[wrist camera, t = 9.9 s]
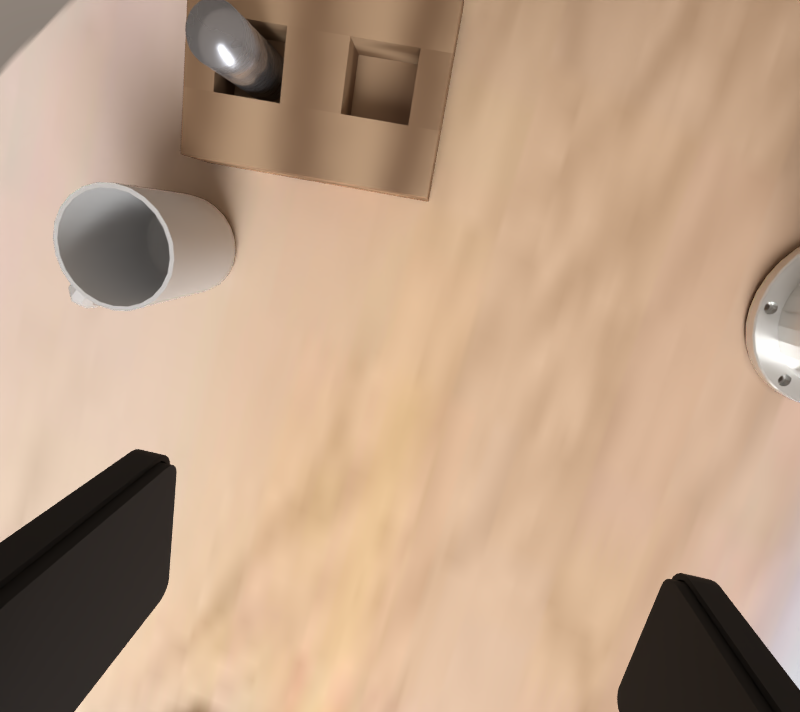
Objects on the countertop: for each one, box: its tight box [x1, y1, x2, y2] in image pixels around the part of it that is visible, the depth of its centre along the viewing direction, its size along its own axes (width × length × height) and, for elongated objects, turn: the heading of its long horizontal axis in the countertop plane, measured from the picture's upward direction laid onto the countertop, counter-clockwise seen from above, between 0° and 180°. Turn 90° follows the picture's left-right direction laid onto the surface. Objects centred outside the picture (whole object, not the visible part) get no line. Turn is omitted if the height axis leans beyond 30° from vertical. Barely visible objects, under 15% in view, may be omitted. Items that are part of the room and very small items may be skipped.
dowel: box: [186, 0, 284, 102], centre depth 28 cm, size 3×3×7 cm
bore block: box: [181, 0, 464, 201], centre depth 30 cm, size 16×12×4 cm
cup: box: [53, 182, 236, 311], centre depth 32 cm, size 7×10×9 cm
